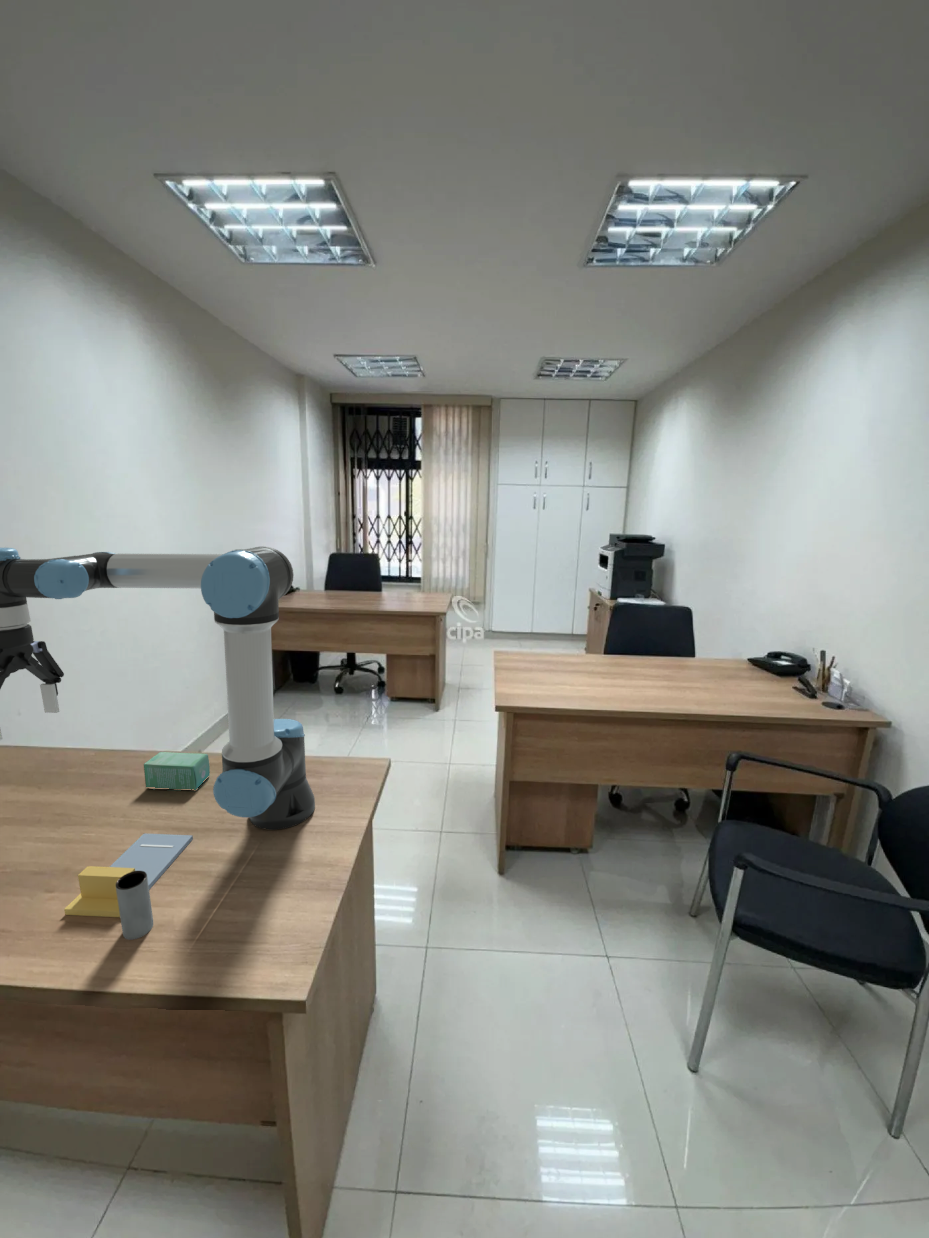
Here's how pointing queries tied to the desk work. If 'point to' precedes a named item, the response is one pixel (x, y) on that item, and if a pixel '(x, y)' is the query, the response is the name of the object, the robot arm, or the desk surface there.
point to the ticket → (153, 854)
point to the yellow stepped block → (97, 892)
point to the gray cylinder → (134, 904)
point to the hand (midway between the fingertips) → (24, 725)
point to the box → (176, 770)
